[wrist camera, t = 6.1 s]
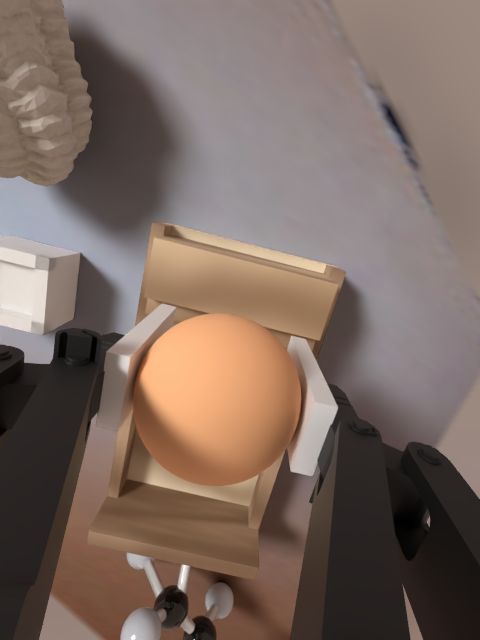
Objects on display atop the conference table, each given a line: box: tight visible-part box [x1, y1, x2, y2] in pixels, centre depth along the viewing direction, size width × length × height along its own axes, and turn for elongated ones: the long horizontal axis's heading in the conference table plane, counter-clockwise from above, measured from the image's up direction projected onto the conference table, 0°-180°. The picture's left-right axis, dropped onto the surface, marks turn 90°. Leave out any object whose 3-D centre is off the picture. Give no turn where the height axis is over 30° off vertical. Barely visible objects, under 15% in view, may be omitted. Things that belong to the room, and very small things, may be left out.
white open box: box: [0, 235, 81, 335], centre depth 22 cm, size 5×5×4 cm
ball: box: [133, 313, 301, 486], centre depth 12 cm, size 6×6×6 cm
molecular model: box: [121, 553, 234, 640], centre depth 26 cm, size 8×12×11 cm
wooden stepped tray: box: [87, 222, 346, 580], centre depth 23 cm, size 22×12×6 cm, turn 166°
